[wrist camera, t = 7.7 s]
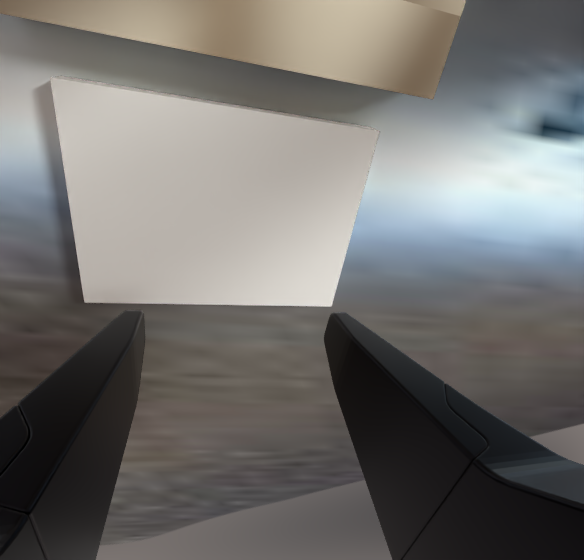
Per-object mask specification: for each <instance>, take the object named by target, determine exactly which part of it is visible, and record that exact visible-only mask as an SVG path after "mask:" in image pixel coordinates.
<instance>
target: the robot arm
mask: <svg viewBox="0 0 584 560" xmlns="http://www.w3.org/2000/svg"><path fill="white" fill-rule="evenodd" d="M324 343H325V348H326V353H327V357H328V362H329V367H330V371H331V376H332V380H333V385H334V389H335V392H336V395H337V398H338V401H339V404H340V407H341V410H342V413H343V416H344V419H345V422H346V425H347V428H348V431H349V434H350V437H351V440H352V442H353V445H354V448H355V451H356V454H357V457H358V460H359V463H360V466H361V469H362V472H363V475H364V478H365V481H366V484H367V486H368V489H369V492H370V495H371V498H372V501H373V504H374V507H375V510H376V513H377V516H378V519H379V521H380V525H381V527H382V530H383V533H384V536H385V539H386V542H387V545H388V548H389V551H390V554H391V557H392V560H584V465H582V464H579V463H576V462H573V461H571V460H568V459H566V458H564V457H562V456H560V455H558V454H556V453H554V452H552V451H551V450H549V449H547V448H546V447H544V446H543V445H541V444H539V443H538V442H536V441H534V440H533V439H531V438H530V437H528V436H526V435H525V434H523V433H522V432H520V431H518V430H517V429H515V428H513V427H512V426H510V425H509V424H507V423H505V422H504V421H502V420H500V419H499V418H497V417H496V416H494V415H493V414H491V413H489V412H488V411H486V410H485V409H483V408H481V407H480V406H478V405H477V404H475V403H474V402H472V401H471V400H469V399H468V398H467V397H465V396H464V395H462V394H461V393H459V392H458V391H456V390H455V389H454V388H452V387H451V386H449V385H448V384H444V382H443V381H442V380H441V379H439V378H438V377H436V376H435V375H434V374H432V373H431V372H429V371H428V370H426V369H425V368H424V367H422V366H421V365H419V364H418V363H417V362H415V361H414V360H412V359H411V358H409V357H408V356H407V355H405V354H404V353H402V352H401V351H400V350H398V349H397V348H395V347H394V346H392V345H391V344H390V343H388V342H387V341H385V340H384V339H382V338H381V337H380V336H378V335H377V334H375V333H374V332H373V331H371V330H370V329H368V328H367V327H365V326H364V325H363V324H361V323H360V322H358V321H357V320H356V319H354V318H353V317H351V316H350V315H348V314H347V313H345V312H333V313H331V315H330V317H329V320H328V324H327V327H326V331H325V335H324ZM144 347H145V325H144V313H143V311H142V310H125V311H124V312H122V313H121V314H120V315H119V316H118V317H117V318H115V319H114V320H113V321H112V322H111V323H110V324H108V325H107V326H106V327H105V328H104V329H103V330H102V331H100V332H99V333H98V334H97V335H96V336H95V337H93V338H92V339H91V340H90V341H89V342H88V343H87V344H85V345H84V346H83V347H82V348H81V349H80V350H78V351H77V352H76V353H75V354H74V355H73V356H72V357H70V358H69V359H68V360H67V361H66V362H65V363H63V364H62V365H61V366H60V367H59V368H58V369H57V370H55V371H54V372H53V373H52V374H51V375H50V376H48V377H47V378H46V379H45V380H44V381H43V382H42V383H40V384H39V385H38V386H37V387H36V388H35V389H33V390H32V391H31V392H30V393H29V394H28V395H27V396H25V397H24V398H23V399H22V400H21V401H20V402H19V403H18V406H14V407H12V408H11V409H10V410H9V411H8V412H7V413H6V414H4V415H3V416H2V417H1V418H0V560H96V556H97V552H98V549H99V545H100V541H101V537H102V534H103V530H104V526H105V522H106V518H107V515H108V511H109V507H110V503H111V499H112V496H113V492H114V488H115V484H116V481H117V477H118V473H119V469H120V465H121V462H122V458H123V454H124V450H125V446H126V443H127V439H128V435H129V431H130V427H131V424H132V420H133V416H134V412H135V408H136V404H137V400H138V394H139V387H140V379H141V371H142V363H143V355H144Z"/></svg>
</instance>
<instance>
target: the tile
mask: <svg viewBox="0 0 584 560" xmlns="http://www.w3.org/2000/svg"><path fill="white" fill-rule="evenodd" d="M50 82H51V88H52V95H53V101H54V108H55V114H56V121H57V127H58V134H59V140H60V147H61V153H62V160H63V166H64V173H65V179H66V186H67V192H68V199H69V206H70V212H71V219H72V225H73V232H74V238H75V245H76V251H77V258H78V264H79V271H80V277H81V284H82V290H83V297H84V303H141V304H206V305H270V306H332V302H333V299H334V295H335V291H336V288H337V284H338V281H339V277H340V273H341V270H342V266H343V263H344V259H345V255H346V252H347V248H348V245H349V241H350V237H351V234H352V230H353V227H354V223H355V219H356V216H357V212H358V209H359V205H360V201H361V198H362V194H363V190H364V187H365V183H366V180H367V176H368V172H369V169H370V165H371V162H372V158H373V154H374V151H375V147H376V144H377V140H378V136H379V133H380V131H378V130H376V129H374V128H372V127H367V126H361V125H355V124H349V123H343V122H337V121H331V120H325V119H319V118H313V117H307V116H301V115H295V114H289V113H282V112H276V111H270V110H264V109H258V108H252V107H246V106H240V105H234V104H228V103H222V102H216V101H210V100H204V99H198V98H192V97H186V96H180V95H174V94H168V93H162V92H156V91H149V90H143V89H137V88H131V87H125V86H119V85H113V84H107V83H101V82H95V81H89V80H83V79H77V78H71V77H65V76H55V77H50Z"/></svg>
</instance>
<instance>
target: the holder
mask: <svg viewBox="0 0 584 560" xmlns="http://www.w3.org/2000/svg"><path fill="white" fill-rule="evenodd" d="M465 3H466V0H0V13H1V14H6V15H11V16H16V17H21V18H26V19H31V20H36V21H41V22H46V23H51V24H56V25H61V26H66V27H71V28H76V29H81V30H86V31H91V32H96V33H101V34H106V35H111V36H116V37H121V38H126V39H131V40H137V41H142V42H147V43H152V44H157V45H162V46H167V47H172V48H177V49H182V50H187V51H192V52H197V53H202V54H207V55H212V56H217V57H222V58H227V59H232V60H237V61H242V62H247V63H252V64H257V65H262V66H267V67H272V68H277V69H282V70H287V71H293V72H298V73H303V74H308V75H313V76H318V77H323V78H328V79H333V80H338V81H343V82H348V83H353V84H358V85H363V86H368V87H373V88H378V89H383V90H388V91H393V92H398V93H403V94H408V95H413V96H418V97H423V98H428V99H433V98H434V95H435V92H436V89H437V86H438V83H439V80H440V77H441V74H442V71H443V68H444V65H445V62H446V60H447V57H448V54H449V51H450V48H451V45H452V42H453V39H454V36H455V33H456V30H457V27H458V24H459V21H460V18H461V15H462V12H463V9H464V6H465Z"/></svg>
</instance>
